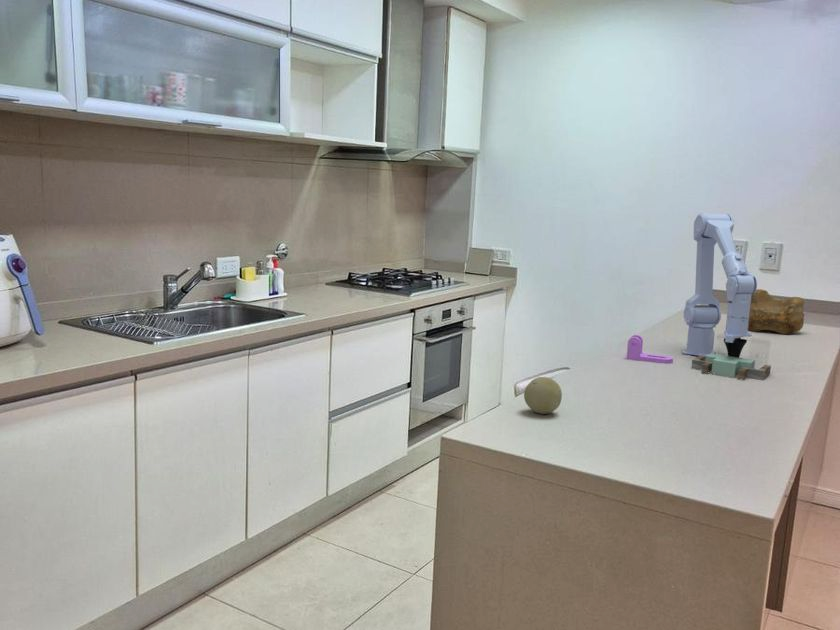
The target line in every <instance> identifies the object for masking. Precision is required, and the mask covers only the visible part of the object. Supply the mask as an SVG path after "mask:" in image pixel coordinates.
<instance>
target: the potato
mask: <svg viewBox="0 0 840 630" xmlns="http://www.w3.org/2000/svg"><path fill="white" fill-rule="evenodd" d="M562 397H563V393H562V388H561V387H560V385H559V384H558V382H557V381H556V380H554V379H553V378H550V377H547V376H539V377H536V378H534V379H532V380H531V381H530V382H529V383H528V384H527V386H526V387H525V389H524V392H523V398H524V402H525V404H526V405H527V407H528V408H530V410H532V411H533V412H534V413H537V414H543V415H544V414H545V415H547V414H551V413H552V412H554V411H556V410H557V409H558V408H559V407H560V405H561V403H562Z"/></svg>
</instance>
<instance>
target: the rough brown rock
mask: <svg viewBox="0 0 840 630" xmlns="http://www.w3.org/2000/svg"><path fill="white" fill-rule="evenodd" d="M804 302H805V301H804V298H803V297H801V296H800V297H799V296H792V297H790V298H787V299H785V300H782V299H780V298H775V297H773V296H771V294H770V293H769V292H768V291H767V290H765V289H759V288H758V289H756V292H755V293H754V294H753V295H751V303H750V312H749V321H748V330H747V331H751V332H758V331H771V332H772V331H773V332H776V333H779V334H782V335H790V334H794V333H798V332H800V331H801V330H802V329H803V327H804V323H805V322H804V320H805V314H804Z"/></svg>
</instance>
